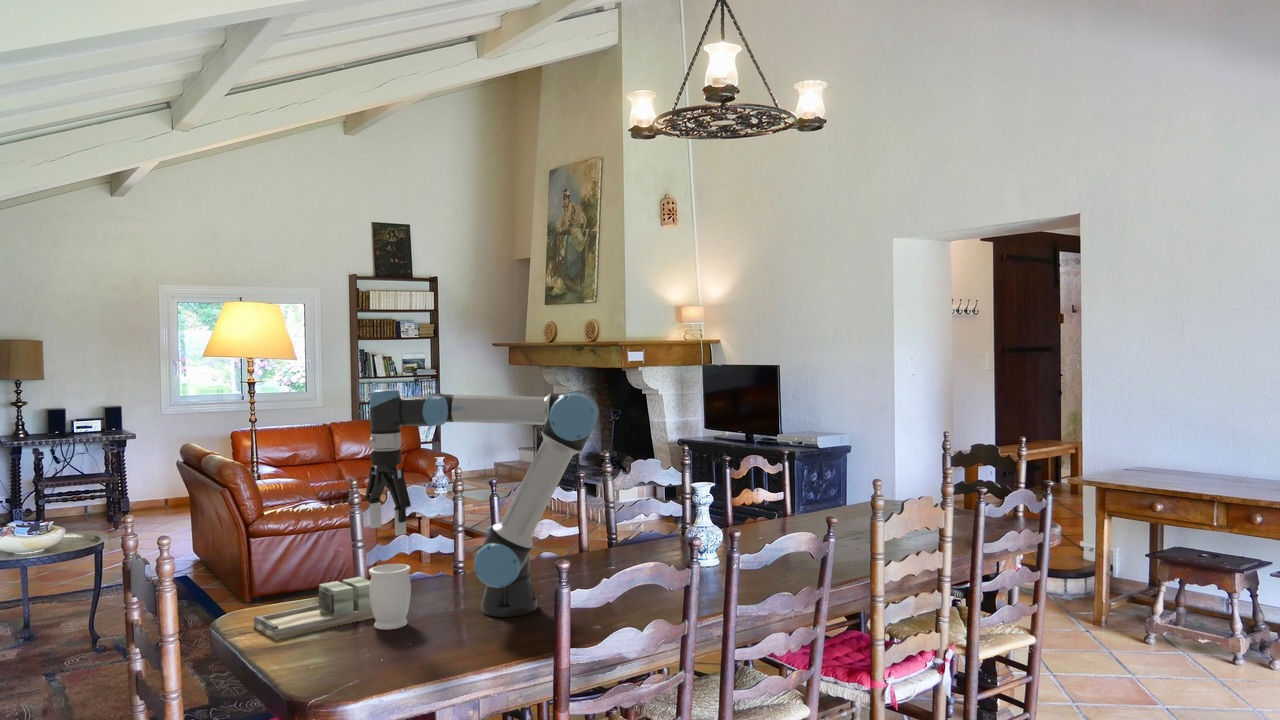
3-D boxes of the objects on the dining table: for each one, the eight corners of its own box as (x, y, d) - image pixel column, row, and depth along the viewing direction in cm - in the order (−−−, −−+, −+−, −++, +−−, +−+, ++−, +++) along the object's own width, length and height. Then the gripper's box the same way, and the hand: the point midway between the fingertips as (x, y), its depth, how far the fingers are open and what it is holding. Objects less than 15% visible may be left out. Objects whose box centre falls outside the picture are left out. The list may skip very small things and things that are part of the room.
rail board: (380, 616, 245) (380, 584, 245) (276, 640, 226) (275, 605, 226) (355, 605, 256) (355, 575, 256) (253, 627, 237) (253, 594, 237)
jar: (399, 632, 230) (398, 573, 230) (362, 630, 232) (361, 572, 232) (418, 620, 240) (417, 563, 240) (382, 618, 243) (381, 562, 242)
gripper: (351, 447, 242) (353, 527, 243) (395, 454, 224) (397, 540, 224) (377, 445, 247) (379, 522, 248) (423, 451, 229) (425, 535, 229)
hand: (388, 531), depth 236 cm, fingers open, 13 cm apart
